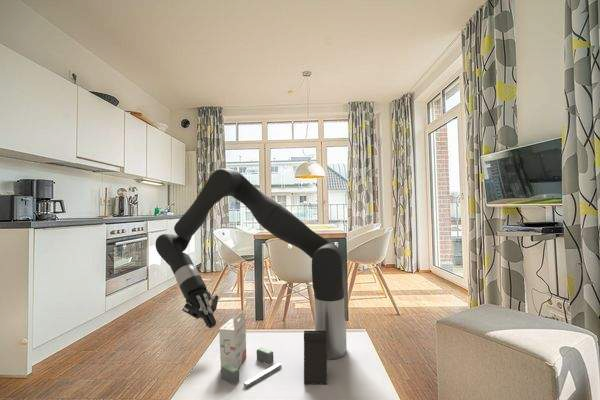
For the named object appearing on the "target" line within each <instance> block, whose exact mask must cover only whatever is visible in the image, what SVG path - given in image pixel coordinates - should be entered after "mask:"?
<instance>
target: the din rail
mask: <svg viewBox="0 0 600 400" xmlns="http://www.w3.org/2000/svg"><path fill="white" fill-rule="evenodd" d="M281 369H282V363H280V362H277V363H276V364H274V365H272V366H271V367H268V368H267V369H265V370H263V371H262V372H260V373H258V374H257V375H255V376H253V377H252V378H250V379H248V380H246V381H244V382H243V387H244V388H246V389H248V388H250V387H252V386H253V385H255V384H257V383H258V382H260V381H261V380H263V379H265V378H267V377H268V376H270V375H272V374H273V373H275V372H277V371H278V370H281Z"/></svg>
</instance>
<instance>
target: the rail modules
mask: <svg viewBox="0 0 600 400" xmlns="http://www.w3.org/2000/svg"><path fill="white" fill-rule="evenodd" d="M256 361H258V362H262V363H264V364H266V365H268V366H269V365H271V364H273V363H274V361H275V360H274V351H272V350H269V349H267V348H264V347H259V348H257V349H256ZM220 372H221V376H220V377H221V379H222V380H224V381H226V382H228V383H229V384H232V385H235V384H238V383H239V382H240V370H239V368H238V369H236V368H234V367H232V366H230V365H228V364H227V365H225V366H223V367H221V366H220Z"/></svg>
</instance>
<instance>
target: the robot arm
mask: <svg viewBox="0 0 600 400" xmlns="http://www.w3.org/2000/svg"><path fill="white" fill-rule="evenodd" d="M225 197H231V198H234V199H236V201H238V202H240V203H241V204H243V205H244V206H245V207H246V208H247V209H248V210H249V211H250V212H251V214H252V216H253V218H254V220H256V222H257V223H258V224H259V225H260V226H261V227H263V228H264V229H265V230H266V231H267V232H269V234H271V235H273V236H274V237H275V238H277V239H279V240H281V241H283V242H285V243H287V244H289V245H292V246H294V247H296V248H297V249H299V250H301V251H303V253H305V254H306V255H307V256H309V258H310V259H311V280H312V281H311V282H312V289H313V296H314V297H313V301H314V303H313V305H314V331H326V344H327V360H336V359H340V358H342V357H344V356H345V354H346V351H347V320H346V319H345V316H346V315H345V289H344V285H343V266H344V263H345V255H344V252H343V251H342V249H341V248H340V247H339V246H337V244H335V243H333V242H331V241H330V240H328V239H326V238H324V237H323V236H322V235H320V234H318V233H316V232H315V231H314V230H313V229H311V228H310V227H308V226H307V224H305V223H304V222H303V221H302V220H300V219H299V218H298V217H297V216H296V215H294V214H293V213H292V212H291V211H289V210H288V209H287V208H286V207H284V206H282V205H281V204H280V203H279V202H278V201H275V200H274V199H273V198H272V197H270V196H268V195H267V194H266V193H264V192H263V191H261V190H260V189H258V187H257V186H255V185H253V183H251V181H249V180H248V178H246V177H245V176H244V175H243V174H242V173H241V172H240V171H238V170H236V169H234V168H219V169H216V170H214V171H213V172H212V173H211V174H210V175H209V177H208V179H207V180H206V182H205V184H204V185H203V187H202V189H201V190H200V192H199V193H198V195H197V196H196V199H195V200H194V201H193V203H192V204H191V205H190V207H189V208H188V209H187V210H186V211H185V212H184V214H182V216H181V217H180V218H179V219H178V221H177V222H176V223H175V224H174V227H173V230H174V233H173V234H171V233H170V234H169V233H163V234H160V235H158V236H157V238H156V240H155V250H156V252H157V253H158V255H159V256H160V257H161V258H162V260H163V261H164V262H165V263H166V264H167V265H168V266H169V267H170V269H171V271H172V273H173V275H174V278H175V281H176V284H177V285H178V287H179V289H180V292H181V293H182V295H183V298H184V299H185V305H183V307H182V309H181V310H182V311H183V312H184V313H186V314H188V315H190V316H191V317H193V318H195V319H196V320H198V319H202V320H203V322H204V324H205V325H206V327H207V328H208V329H212V328H215V327H216V325H217V320H216V317H215V316H214V313H215V311H216V310H217V307H218V302H219V301H218V300H219V295H217V294H216V295H212V294H211V293H210V292H209V291H208V289H207V285H206V283H205V280H204V279H203V278H202V275H201V273H200V272H199V270H198V269H197V267H196V265H195V264H194V263H193V260H192V259H191V257H190V255H189V254H187V253H186V252H185V250H186V249H187V247H188V246H189V244H190V242H191V239H192V237H193V236H194V234H196V232H197V231H198V230H199V229H200V228H201V227H202V226H203V224H205V222H206V219H207V217H208V214H209V213H210V211H211V209H213V207H214V206H215V205H216V204H217V203H218V202H219V201H221V200H222V199H223V198H225Z"/></svg>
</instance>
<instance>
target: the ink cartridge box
mask: <svg viewBox="0 0 600 400" xmlns="http://www.w3.org/2000/svg"><path fill="white" fill-rule="evenodd" d="M218 331H219V332H218V333H219V355H220V356H219V358H220V368H221V367H223V366H225V365H227V364H228V365H230V366H232V367H234V368H236V369H238V370H239V367H240V366H241V365H242V364H243V362H244V361H245V359H246V358H247V334H246V332H247V330H246V315H245V309H242V311H240V312H239V313H238V314H237V315H236V316H235V317H233V318H230V319H229V320H228V321H226V322H225V323H224V324H223V325H222V326H220V327H219V329H218Z"/></svg>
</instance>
